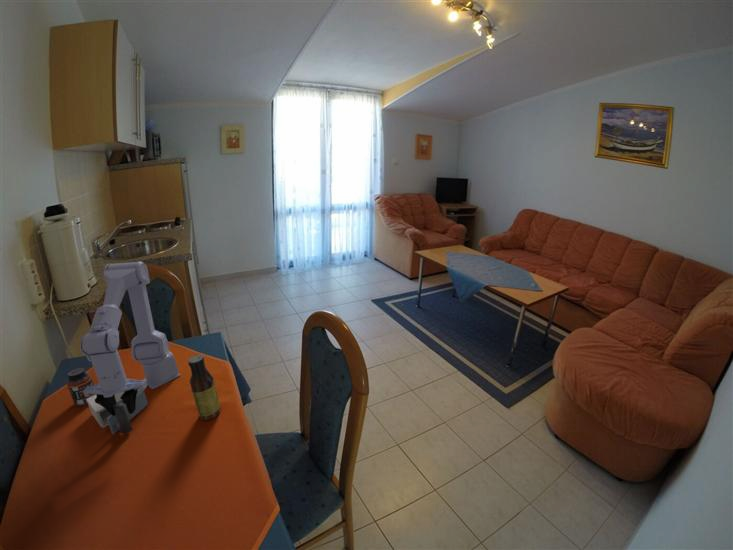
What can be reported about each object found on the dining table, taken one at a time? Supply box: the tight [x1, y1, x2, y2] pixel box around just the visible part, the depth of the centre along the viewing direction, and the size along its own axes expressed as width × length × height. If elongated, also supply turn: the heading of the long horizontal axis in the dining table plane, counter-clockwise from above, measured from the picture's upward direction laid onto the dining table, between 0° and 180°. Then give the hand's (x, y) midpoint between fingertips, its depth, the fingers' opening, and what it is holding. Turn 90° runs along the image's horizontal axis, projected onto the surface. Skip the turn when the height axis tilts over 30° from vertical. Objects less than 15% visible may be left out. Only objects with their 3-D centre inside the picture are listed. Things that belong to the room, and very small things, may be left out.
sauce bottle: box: [187, 354, 221, 421], centre depth 100 cm, size 7×6×20 cm
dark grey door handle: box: [107, 389, 149, 435], centre depth 99 cm, size 12×5×10 cm, turn 167°
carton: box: [86, 389, 142, 429], centre depth 105 cm, size 12×9×6 cm
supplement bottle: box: [66, 367, 96, 407], centre depth 108 cm, size 6×6×11 cm
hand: (124, 412), depth 94 cm, fingers open, 4 cm apart
